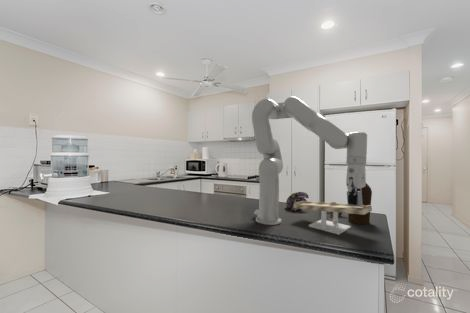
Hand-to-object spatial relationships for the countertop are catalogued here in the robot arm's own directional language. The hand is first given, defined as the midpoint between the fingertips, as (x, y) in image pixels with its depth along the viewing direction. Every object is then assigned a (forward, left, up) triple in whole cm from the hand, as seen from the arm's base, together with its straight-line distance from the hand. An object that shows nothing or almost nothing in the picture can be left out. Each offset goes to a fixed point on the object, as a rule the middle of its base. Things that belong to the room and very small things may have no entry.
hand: (354, 203), depth 99 cm
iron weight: (0, 0, -1) cm, 1 cm away
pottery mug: (-18, +22, -13) cm, 32 cm away
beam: (-11, 0, -5) cm, 12 cm away
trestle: (-11, 0, -13) cm, 17 cm away
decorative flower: (-39, +17, -13) cm, 44 cm away
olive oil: (-5, +20, -13) cm, 25 cm away
